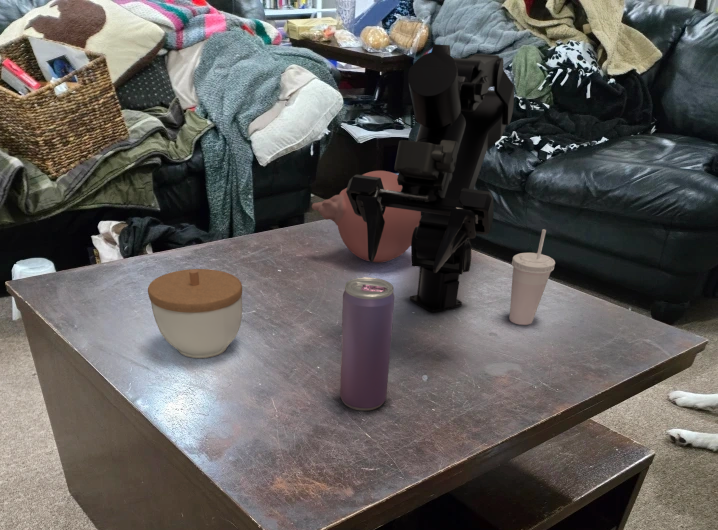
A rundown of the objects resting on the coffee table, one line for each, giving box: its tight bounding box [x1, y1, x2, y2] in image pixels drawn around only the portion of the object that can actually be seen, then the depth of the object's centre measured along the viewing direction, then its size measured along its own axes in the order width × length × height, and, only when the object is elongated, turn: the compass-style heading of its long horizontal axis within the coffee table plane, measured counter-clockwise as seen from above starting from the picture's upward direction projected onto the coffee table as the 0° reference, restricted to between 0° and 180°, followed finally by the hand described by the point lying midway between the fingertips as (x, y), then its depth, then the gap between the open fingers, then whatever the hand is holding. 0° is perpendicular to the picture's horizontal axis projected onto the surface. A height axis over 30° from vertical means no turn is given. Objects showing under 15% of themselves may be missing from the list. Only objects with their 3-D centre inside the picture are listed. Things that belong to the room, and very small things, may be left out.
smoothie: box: [508, 228, 556, 326], centre depth 98 cm, size 6×6×14 cm
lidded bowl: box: [147, 268, 243, 359], centre depth 89 cm, size 13×13×11 cm
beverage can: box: [339, 277, 396, 412], centre depth 77 cm, size 6×6×15 cm
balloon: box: [311, 170, 422, 263], centre depth 117 cm, size 15×20×15 cm
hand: (401, 265), depth 82 cm, fingers open, 8 cm apart
